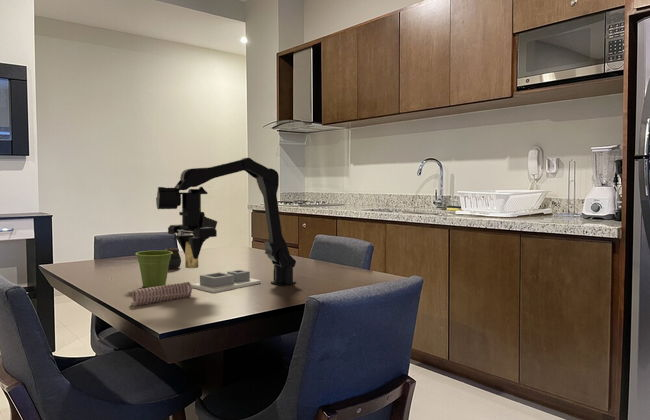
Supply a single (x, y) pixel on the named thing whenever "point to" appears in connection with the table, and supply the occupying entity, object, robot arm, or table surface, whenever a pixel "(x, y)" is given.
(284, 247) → the robot arm
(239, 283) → the fitting board
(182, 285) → the coil
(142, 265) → the plant pot
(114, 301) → the table surface
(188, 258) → the cylinder
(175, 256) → the mate gourd
